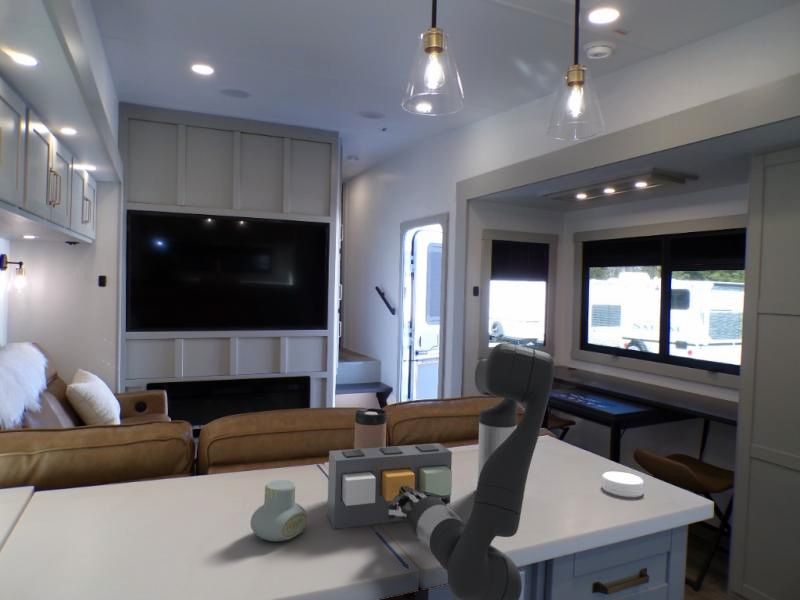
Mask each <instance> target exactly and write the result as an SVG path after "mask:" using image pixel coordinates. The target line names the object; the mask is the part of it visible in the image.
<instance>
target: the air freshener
mask: <svg viewBox="0 0 800 600" xmlns="http://www.w3.org/2000/svg"><path fill="white" fill-rule="evenodd" d="M250 517H251V518H250V521H249V522H250V528H251V530H252V531H253V533H254V534H255V536H257V537H258V538H260V539H262V540H265V541H268V542H286V541H289V540H291V539H292V538H295V537H297V536H298V535H299V534H301V532H302V531H303V530H304V529H305V528H306V525H307V523H308V514H307V512H306V510H305V508H304V507H303V506H302V505H301V504H299V503H298V502H296V484H295V483H294V482H293V481H291V480H286V479H278V480H272V481H270V482H268V483H267V484H265V486H264V503H263V504H262V505H261V506H259V507H258V508H257V509H256V510H255V511H254V512H253V514H252V515H251V516H250Z"/></svg>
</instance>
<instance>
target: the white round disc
mask: <svg viewBox="0 0 800 600" xmlns="http://www.w3.org/2000/svg"><path fill="white" fill-rule="evenodd" d="M644 485H645V483H644V480H643V478H642V477H640V476H638V475H636V474H632V473H628V472H625V471H624V472H622V471H605V472H604V473H603V474H602V475H601V488H602V490H604V491H605V492H606V493H609V494H611V495H615V496H619V497H626V498H638V497H641V496H643V495H644V493H645V491H644V488H645V486H644Z"/></svg>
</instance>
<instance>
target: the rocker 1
mask: <svg viewBox="0 0 800 600" xmlns="http://www.w3.org/2000/svg"><path fill="white" fill-rule="evenodd" d="M375 488H376V478H375V477H374V475H373V474H372V473H371V472H370V471H365V472H353V473H342V474H341V498H342V500H343V501H344V503H345V505H346V506H349V505H358V504H368V503H375Z"/></svg>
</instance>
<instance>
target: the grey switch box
mask: <svg viewBox="0 0 800 600" xmlns="http://www.w3.org/2000/svg"><path fill="white" fill-rule="evenodd" d="M328 452H329V453H328V478H327V480H328V481H327V483H328V485H327V510H326V511H327V512H326V513H327V514H326V515H327V518H328V519H329V522H330V524H331V526H332V528H333V529H334V530H337V529H339V530H340V529H349V528H355V527H365V526H373V525H380V524H390V523H396V522H405V521H404V520H403V519H402V518H401V516H398V517H397V516H396V517H395V518H394V519H389V518H388V504H389V503H390V502H391V501H386V500H385V499H384V497H383V496H382V495H381V494H380V489H381V470H389V469H400V468H408V469H409V470H411V471H412V472H413V473H414V474H415V488H414V491H417V492H419V491H418V472H419V467H424V466H435V465H445V466H446V467H447V468H448V469H450V470H451V471H452V462H453V461H452V460H453V459H452V457H453V456H452V455H453V454H452V453H453V452H452V451H451V450H450V449H448V448H447V447H446V446H444V445H442V444H441V443H423V444H411V445H410V444H409V445H397V446H396V445H395V446H386V447H379V448H364V449H354V448H352V449H339V450H336V449H335V450H329V451H328ZM365 471H370V472H371V473H372V474H373V475H374V477H375V478H376V488H375V503H368V504H358V505H349V506H346V505H345V503H344V501H343V500H342V498H341V474H342V473H353V472H365ZM419 493H420V492H419ZM420 494H421V493H420ZM451 495H452V494H451ZM451 495H443V496H445V497H449V498H450V499H451ZM403 507H404V506H403ZM348 527H349V528H348Z"/></svg>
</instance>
